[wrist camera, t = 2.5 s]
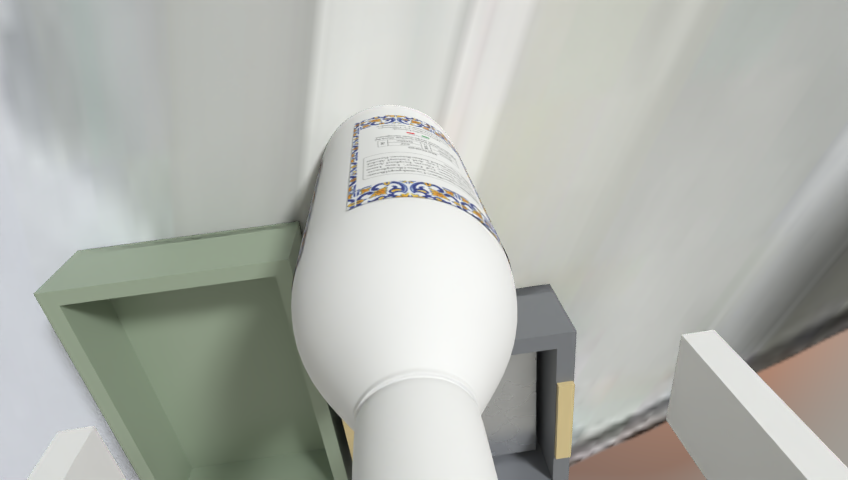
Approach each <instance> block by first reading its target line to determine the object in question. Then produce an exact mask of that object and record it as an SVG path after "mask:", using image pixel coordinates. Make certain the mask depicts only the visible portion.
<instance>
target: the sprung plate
mask: <svg viewBox="0 0 848 480" xmlns="http://www.w3.org/2000/svg"><path fill="white" fill-rule="evenodd" d="M481 417H482V421H483V424H484V428H485V431H486V435H487V439H488V443H489V446H490V450H491V454H492V456H498V455H505V454H511V453H518V452H524V451H531V450H536V352H531V353H524V354H517V355H511V356H510V360H509V362H508V365H507V367H506V370H505V372H504V374H503V377H502V379H501V381H500V383H499V385H498V387H497V388H496V390H495V392H494V394H493V396H492V397H491V399H490V401H489V403H488V404H487V406H486V408H485V410H484V411H483V413H482V415H481Z"/></svg>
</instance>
